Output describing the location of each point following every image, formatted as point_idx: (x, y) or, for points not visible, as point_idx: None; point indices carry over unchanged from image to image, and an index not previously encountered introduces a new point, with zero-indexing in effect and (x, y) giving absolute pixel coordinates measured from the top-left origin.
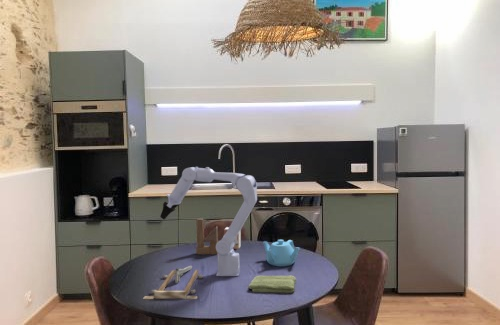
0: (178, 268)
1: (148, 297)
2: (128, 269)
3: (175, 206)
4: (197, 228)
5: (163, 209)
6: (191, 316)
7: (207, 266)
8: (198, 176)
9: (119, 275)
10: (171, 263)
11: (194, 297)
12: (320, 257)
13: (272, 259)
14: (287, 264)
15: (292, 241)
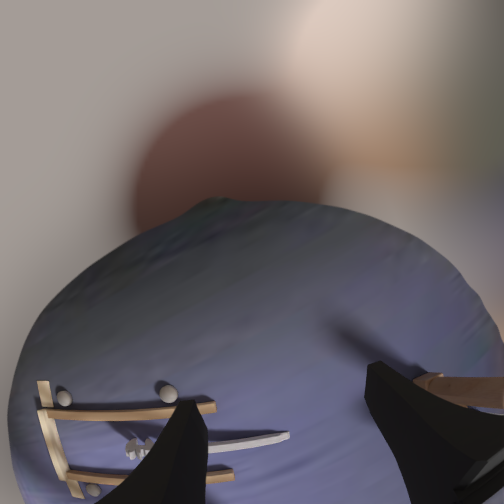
0: (139, 458)
1: (45, 392)
2: (226, 230)
3: (407, 483)
4: (476, 389)
5: (132, 480)
6: (19, 485)
7: (305, 474)
8: None
9: (170, 233)
10: (314, 347)
11: (76, 492)
12: None
13: None
14: None
15: None
